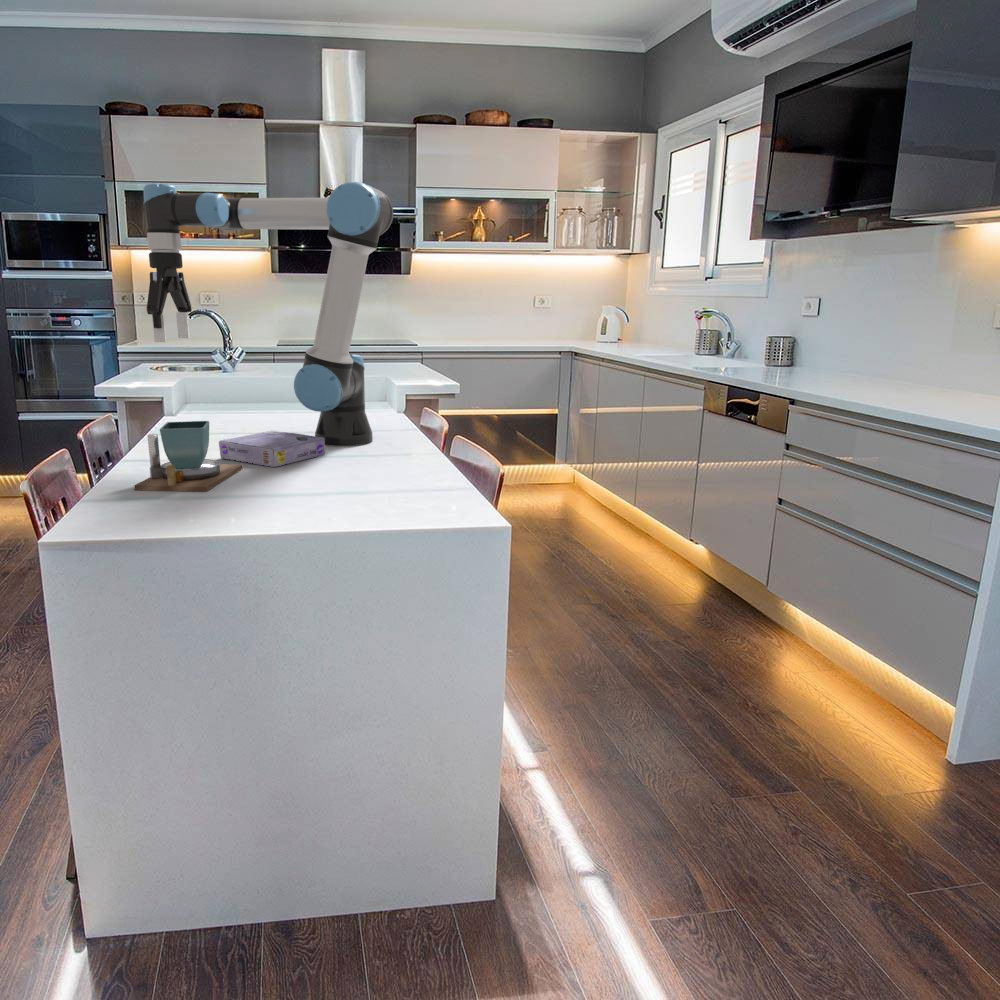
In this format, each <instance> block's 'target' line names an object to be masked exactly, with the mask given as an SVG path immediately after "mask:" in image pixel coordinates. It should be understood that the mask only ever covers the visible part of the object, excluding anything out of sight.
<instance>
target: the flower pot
mask: <svg viewBox="0 0 1000 1000" xmlns="http://www.w3.org/2000/svg"><path fill="white" fill-rule="evenodd" d="M159 433H160V439H161V442H162V446H163V450H164V454H165V455H166V458H167V460H168V461H169V462H170V463H171V464H172V465H175V468H178V469H179V468H198V467H200V466H201V465H202V463H203V462H204V459H206V457H207V455H208V451H209V445H210V421H209V420H193V421H192V420H190V421H167V422H165V423H164V424H163V425H162V426H161V427H160V428H159Z"/></svg>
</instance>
